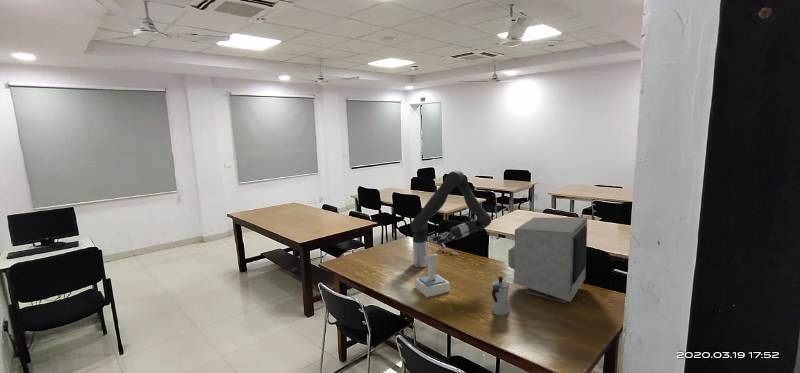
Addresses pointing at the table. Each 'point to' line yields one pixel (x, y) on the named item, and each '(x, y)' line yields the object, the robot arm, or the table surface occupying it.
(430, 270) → the snap cover
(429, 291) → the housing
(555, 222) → the crt monitor
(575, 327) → the table surface
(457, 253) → the pink and white arrow
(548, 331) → the table surface
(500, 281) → the coffee maker
